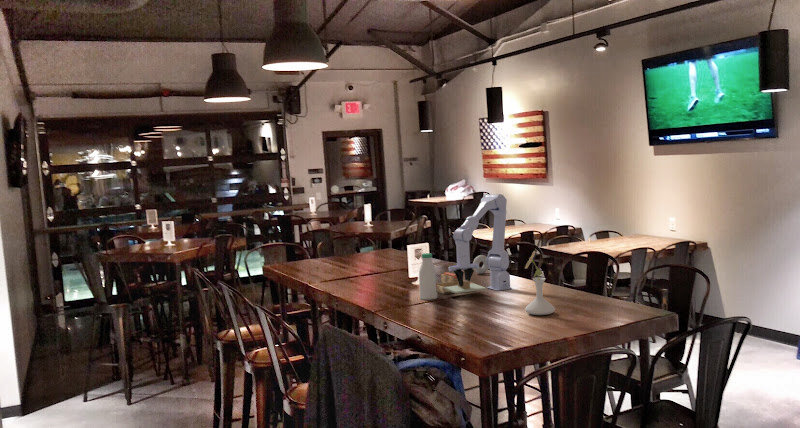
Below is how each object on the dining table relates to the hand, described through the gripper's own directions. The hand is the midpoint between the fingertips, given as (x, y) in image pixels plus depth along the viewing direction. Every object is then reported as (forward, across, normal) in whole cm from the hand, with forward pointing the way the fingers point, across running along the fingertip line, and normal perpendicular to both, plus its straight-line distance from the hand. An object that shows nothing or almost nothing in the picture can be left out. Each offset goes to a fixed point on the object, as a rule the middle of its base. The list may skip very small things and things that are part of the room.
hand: (464, 285), depth 302 cm
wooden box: (+5, -2, -15) cm, 16 cm away
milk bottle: (+5, +16, -5) cm, 17 cm away
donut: (+5, -36, -46) cm, 59 cm away
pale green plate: (+2, 0, 0) cm, 2 cm away
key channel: (+5, -8, -27) cm, 29 cm away
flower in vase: (+5, -6, +48) cm, 49 cm away
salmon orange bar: (+1, -8, -28) cm, 29 cm away
